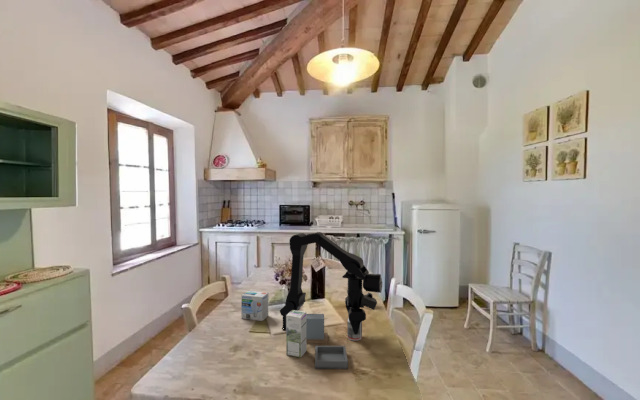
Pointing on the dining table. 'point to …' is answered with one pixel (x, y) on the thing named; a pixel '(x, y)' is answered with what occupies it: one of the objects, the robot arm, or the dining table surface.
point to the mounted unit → (315, 329)
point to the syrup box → (296, 333)
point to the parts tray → (330, 357)
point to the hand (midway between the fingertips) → (354, 329)
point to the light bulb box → (254, 305)
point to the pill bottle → (351, 333)
